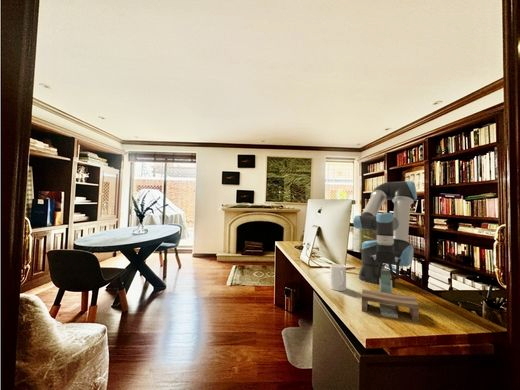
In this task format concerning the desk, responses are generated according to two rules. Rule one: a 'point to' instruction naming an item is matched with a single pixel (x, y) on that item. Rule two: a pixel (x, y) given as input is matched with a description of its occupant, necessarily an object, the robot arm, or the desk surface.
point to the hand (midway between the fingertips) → (385, 292)
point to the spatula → (386, 287)
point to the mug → (338, 277)
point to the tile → (388, 312)
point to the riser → (391, 301)
